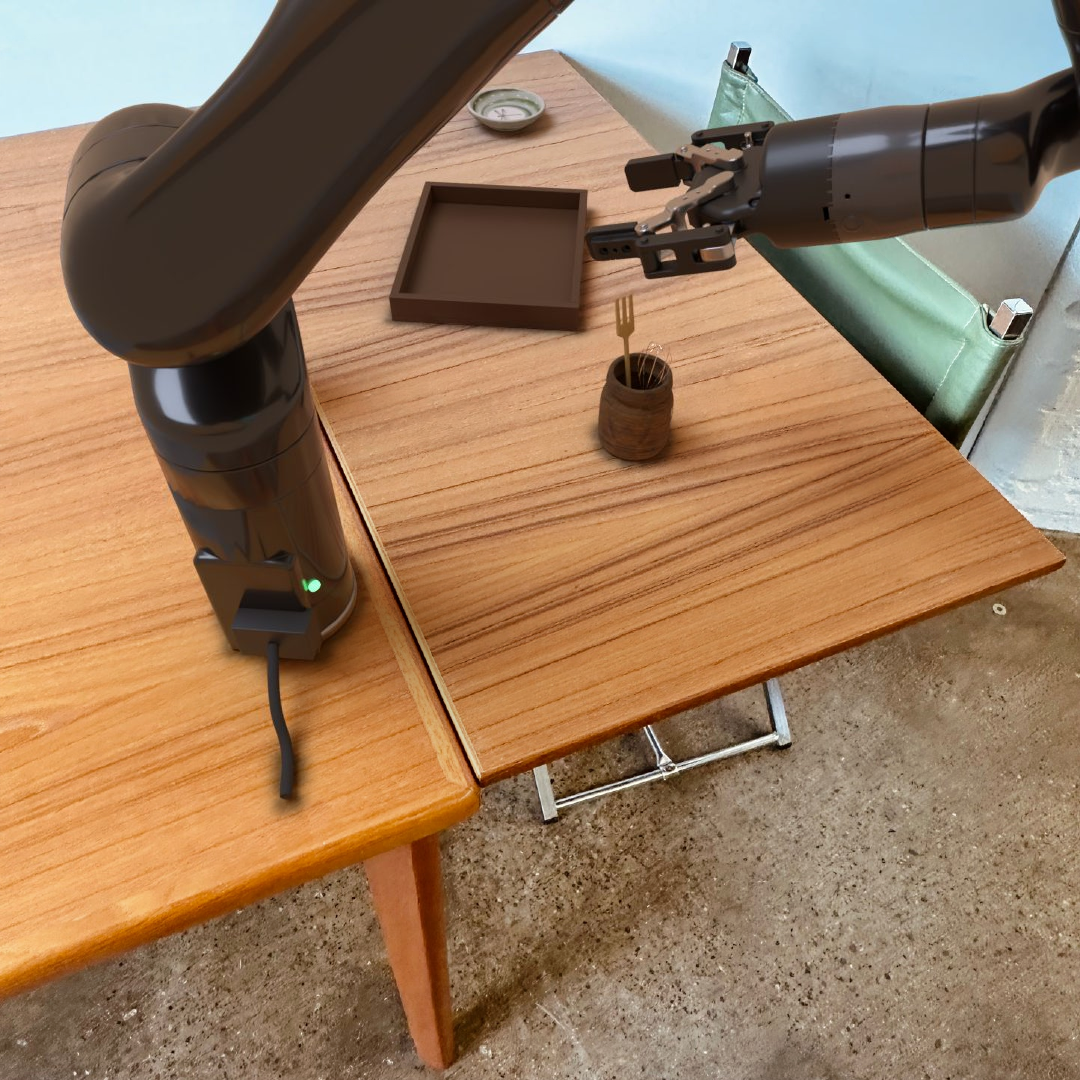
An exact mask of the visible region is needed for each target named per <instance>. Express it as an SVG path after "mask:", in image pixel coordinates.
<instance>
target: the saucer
mask: <svg viewBox="0 0 1080 1080" xmlns="http://www.w3.org/2000/svg"><path fill="white" fill-rule="evenodd" d="M546 105H547V104H546V101H545V100H544V98H543V97H541V95H539V94H537V93H536V92H533V91H531V90H528V89H525V88H520V87H514V86H513V87H512V86H499V87H491V88H486V89H482V90H480V91H479V92H478V93H477V94H476V95H475V96H474V97H473V98H472V99H471V100H470V101H469V102H468V103H467V104H466V109H467V112H468V113H469V114H470V115H471V116H472V117H474V118H475V120H477V121H478V122H480V123H482V124H483V125H485V126H487V127H489V128H491V129H492V130H495V131H499V132H514V131H519V130H521V129H523V128H524V127H526V126H530V125H531V124H533V123H534V122H536V121H537V120H538V119H539V118H540V117H541V116H542V115H543V114H544V113H545V111H546Z"/></svg>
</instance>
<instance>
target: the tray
mask: <svg viewBox="0 0 1080 1080" xmlns="http://www.w3.org/2000/svg"><path fill="white" fill-rule="evenodd" d="M588 194H589V190H588V189H585V188H584V189H582V188H565V187H563V188H562V187H544V186H526V185H525V186H524V185H508V184H507V185H505V184H485V183H467V182H466V183H465V182H448V181H431V180H429V181H424V185H423V188H422V191H421V193H420V196H419V200H418V203H417V206H416V210H415V213H414V216H413V219H412V223H411V226H410V229H409V232H408V236H407V237H406V238H407V239H406V242H405V244H404V248H403V251H402V254H401V258H400V261H399V264H398V268H397V271H396V274H395V276H394V277H395V278H394V280H393V283H392V287H391V290H390V293H389V296H388V301H389V307H390V308H389V309H390V314H391V316H390V317H391V321H398V322H414V323H415V322H416V323H429V324H430V323H433V324H448V325H449V324H450V325H451V324H452V325H467V326H468V325H469V326H484V327H485V326H486V327H504V328H521V329H539V330H553V331H554V330H557V331H573V332H578V329H579V328H578V327H579V315H580V303H581V290H582V277H583V265H584V253H585V252H584V249H585V235H586V226H587V225H586V224H587V215H588V214H587V212H588V198H589V197H588V196H589V195H588Z"/></svg>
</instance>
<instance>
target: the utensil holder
mask: <svg viewBox="0 0 1080 1080" xmlns="http://www.w3.org/2000/svg"><path fill="white" fill-rule="evenodd" d="M620 308H621V309H620ZM627 310H628V311H627ZM620 312H621V313H620ZM614 313H615V332H616V336H617V337H619V338H622V339H623V353H624V354H622V355H620V356H618V357H616V358H615V359H613V361H612V362H611V363H610V365H609V367H608V369H607V372H606V377H605V383H604V385H603V387H602V389H601V392H600V397H599V407H598V418H597V419H598V420H597V434H598V440H599V442H600V444H601V446H602V447H603V448H604V450H606V451H607V452H608V453H609V454H611V455H613V456H614V457H616V458H617V457H618V458H619V459H624V460H628V461H643V460H647V459H651V458H653V457H655V456H656V455H658V454H659V453H661V451H662V450H663V449H664V448H665V446H666V444H667V443H668V439H669V436H670V431H671V424H672V419H673V414H674V405H675V404H674V402H675V398H674V392H673V386H674V377H673V371H672V368H671V364H672V360H673V359H672V354H671V352H670V351H671V350H670V346H669V345H667V344H665V346H667V347H668V348H666V347H664V344H662V341H660V343H658V342H657V341H653V340H652V341H651V342H650V343H649V344H648V345H646V346H645V347H644V348H643V349H642V351H641V352H631V353H630V343H629V342H630V341H629V338H630V337H631V335H632V334H633V333H634V332H635V329H636V327H635V312H634V298H633V293H629V294H628V309H627V297H626V295H622V296H621V307H620V298H618V297H615V298H614ZM621 315H622V321H621ZM628 320H629V321H628ZM621 322H622V323H621ZM652 343H656V344H655V346H656V347H654V348H653V349H651V350H650V351H649V352H648V349H649V347H652V346H653V344H652ZM657 348H658V349H657ZM645 349H646V351H645V353H644V350H645ZM656 349H657V351H656V354H655V355H653V354H651V352H652V351H654V350H656ZM660 349H661V351H662V353H663V354H662V355H663V357H664V359H665V360H663V359H661V358H660V357H658V355H659V350H660ZM663 349H665V350H666V351H668V352H667V356H666V354H665V352H664V350H663ZM669 355H670V362H669V364H668V363H667V361H668V358H669Z"/></svg>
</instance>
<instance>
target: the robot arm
mask: <svg viewBox="0 0 1080 1080" xmlns="http://www.w3.org/2000/svg"><path fill="white" fill-rule="evenodd" d="M575 1H576V0H277V2H276V4H275V5H274V7H273V10H272V11H271V14H270V15H269V17H268V19H267V20H266V23H265V24H264V25H263V27H262V29H261V30H260V32H259V34H258V36H257V37H256V38H255V40H254V43H253V44H252V45H251V47H250V48H249V49H248V51H247V52H246V54H245V55H244V56H243V58H242V59H241V60H240V61H239V63H238V64H237V65H236V67H235V68H234V69H233V71H232V72H231V73H230V74H229V75H228V76H227V78H226V79H225V80H224V81H223V82H222V83H221V85H220V86H219V87H218V88H217V89H216V91H215V92H214V93H212V94H211V96H210V97H208V99H206V100H205V101H204V102H203V104H202V105H201V106H199V108H197V109H196V110H193V109H191V108H189V107H186V106H185V107H184V106H182V105H177V104H171V103H164V102H163V103H161V102H147V103H139V104H133V105H129V106H126V107H123V108H121V109H118V110H115V111H113V112H111V113H110V114H108V115H106V116H104V117H103V118H102V119H100V120H99V121H97V122H96V123H95V124H94V125H93V126H92V127H90V129H89V130H88V131H87V132H86V133H85V135H84V136H83V137H82V139H81V140H80V142H79V144H78V146H77V148H76V150H75V152H74V154H73V157H72V158H71V162H70V166H69V170H68V175H67V183H66V190H65V196H64V205H63V212H62V221H61V227H60V244H59V245H60V247H59V257H60V258H59V259H60V265H61V271H62V279H63V283H64V287H65V290H66V293H67V297H68V299H69V302H70V305H71V307H72V310H73V312H74V313H75V316H76V317H77V319H78V321H79V322H80V325H82V327H83V328H84V330H86V332H87V333H88V334H89V335H90V336H91V337H92V338H93V340H94V341H95V342H96V343H97V344H98V345H99V346H100V347H102V348H103V349H104V350H106V351H107V352H109V353H110V354H112V355H113V356H115V357H117V358H119V359H121V360H123V361H125V362H126V363H127V367H128V372H129V378H130V384H131V389H132V395H133V401H134V404H135V408H136V411H137V414H138V417H139V419H140V422H141V424H142V427H143V429H144V431H145V434H146V436H147V438H148V441H149V443H150V446H151V447H152V450H153V452H154V455H155V457H156V459H157V461H158V464H159V467H160V470H161V472H162V473H163V477H164V478H165V480H166V484H167V486H168V489H169V491H170V494H171V495H172V499H173V501H174V503H175V506H176V507H177V510H178V512H179V514H180V517H181V519H182V521H183V524H184V526H185V529H186V531H187V533H188V536H189V538H190V540H191V544H192V545H193V548H194V549H195V554H194V557H193V558H192V564H193V566H194V569H195V571H196V573H197V576H198V577H199V580H200V583H201V585H202V587H203V590H204V592H205V593H206V597H207V598H208V601H209V603H210V605H211V608H212V610H213V613H214V615H215V617H216V619H217V622H218V624H219V626H220V628H221V630H222V633H223V636H224V638H225V640H226V642H227V645H228V647H229V648H230V649H232V650H239V652H240V654H241V655H242V656H252V657H253V656H254V657H266V658H267V659H266V660H267V666H266V667H267V668H266V669H267V673H266V674H267V678H266V679H267V697H268V706H269V712H270V717H271V720H272V724H273V727H274V730H275V733H276V736H277V740H278V742H279V743H278V745H279V749H280V756H281V769H280V771H281V774H280V784H279V798H280V799H282V800H289V799H291V798H292V797H293V788H294V787H293V786H294V773H295V771H294V770H295V769H294V768H295V767H294V766H295V765H294V764H295V762H294V749H293V744H292V743H293V742H292V739H291V738H292V737H291V735H290V732H289V728H288V726H287V725H288V724H287V722H286V718H285V715H284V711H283V707H282V698H281V687H280V658H281V659H282V658H283V659H294V660H295V659H296V660H308V661H314V660H315V657H316V655H318V654H319V653H320V652H321V647H322V644H323V643H324V641H326V640H328V639H329V638H330V637H332V636H333V635H334V634H335V633H336V632H338V631H339V630H340V629H341V628H342V627H343V626H344V625H345V624H346V622H347V621H348V620H349V618H350V617H351V615H352V613H353V611H354V608H355V606H356V604H357V598H358V584H357V579H356V574H355V571H354V568H353V566H352V563H351V559H350V558H351V557H350V555H349V550H348V545H347V543H346V538H345V534H344V528H343V525H342V519H341V515H340V511H339V507H338V502H337V498H336V493H335V489H334V484H333V479H332V475H331V471H330V467H329V463H328V458H327V453H326V449H325V445H324V440H323V436H322V435H323V434H322V431H321V426H320V421H319V417H318V412H317V409H316V404H315V399H314V395H313V391H312V386H311V381H310V375H309V371H308V370H309V369H308V365H307V360H306V355H305V350H304V344H303V339H302V334H301V329H300V326H299V325H300V324H299V320H298V315H297V312H296V311H297V310H296V308H295V304H294V298H293V295H294V294H295V293H296V291H297V290H298V289H299V288H300V287H301V285H302V284H303V282H304V281H305V280H306V279H307V277H308V276H309V275H310V273H311V272H312V271H313V270H314V268H316V266H317V265H318V264H319V263H320V261H321V260H322V259H323V258H324V256H325V255H326V254H327V253H328V251H330V249H331V248H332V247H333V245H334V244H335V243H336V242H337V240H339V238H340V237H341V236H342V234H343V233H344V232H345V231H346V229H347V228H348V226H350V225H351V223H352V222H353V221H354V220H355V218H356V217H357V216H358V215H359V214H360V212H361V211H362V210H363V209H364V208H365V207H366V205H367V204H368V203H369V202H370V200H371V199H373V198H374V196H375V195H376V194H377V193H378V192H379V191H380V190H381V189H382V188H383V186H384V185H386V183H387V182H388V181H389V180H390V179H391V178H392V177H393V176H395V174H396V173H397V172H398V171H399V170H400V169H401V168H403V166H404V165H405V164H406V163H407V162H408V161H409V160H411V159H412V157H414V156H415V155H416V154H417V153H418V152H419V151H420V150H421V149H423V147H424V146H425V145H427V144H428V142H430V141H431V140H432V139H433V138H434V137H435V136H437V134H438V133H439V132H440V131H441V130H442V129H443V128H444V127H446V125H447V124H448V123H449V122H450V121H452V120H453V118H454V117H456V116H457V115H458V114H459V113H460V112H461V111H462V110H463V109H464V108H465V107H466V106H467V103H468V102H469V101H470V100H471V99H472V98H473V97H474V96H475V95H476V94H477V93H478V92H480V91H482V90H483V88H484V87H485V86H486V85H487V84H488V83H489V82H490V81H492V79H494V77H496V76H497V75H498V73H500V71H502V70H503V69H504V68H505V67H506V66H507V64H509V63H510V62H511V61H512V60H513V59H514V58H515V57H516V56H517V55H518V54H520V52H522V50H523V49H525V47H527V46H528V45H529V44H530V43H531V42H532V41H534V40H535V39H536V37H538V36H539V35H541V33H542V32H544V31H545V30H546V29H547V28H548V27H549V26H550V25H551V24H552V23H553V22H554V21H556V20H557V19H558V18H559V15H562V14H563V13H564V12H565V11H566V10H567V9H568V8H569V7H570V6H571V5H572V4H573V3H574V2H575ZM1050 2H1051V7H1052V9H1053V13H1054V16H1055V22H1056V23H1057V26H1058V29H1059V33H1060V36H1061V38H1062V41H1063V42H1064V45H1065V47H1066V50H1067V53H1068V57H1069V60H1070V63H1071V66H1070V67H1067V68H1064V69H1061V70H1059V71H1056V72H1054V73H1051V74H1049V75H1046V76H1043V77H1041V78H1039V79H1037V80H1035V81H1032V82H1031V83H1029V84H1026V85H1023V86H1021V87H1019V88H1016V89H1013V90H1009V91H1004V92H996V93H995V92H994V93H989V94H983V95H975V96H969V97H964V98H958V99H956V98H955V99H951V100H944V101H938V102H932V103H922V104H894V105H884V106H877V107H871V108H866V109H865V108H864V109H860V110H852V111H847V112H840V113H839V112H838V113H832V114H828V115H827V114H826V115H822V116H816V117H809V118H802V119H798V120H791V121H784V122H779V123H776V124H775V121H774V120H764V121H757V122H750V123H742V124H735V125H727V126H720V127H712V128H705V129H699V130H696V131H695V132H693V133H691V135H690V139H691V143H689V144H687V143H685V144H682V145H680V146H678V147H677V148H675V151H674V152H669V153H661V154H656V155H655V154H654V155H649V156H642V157H636V158H632V159H629V160H628V161H627V163H626V164H625V166H624V168H623V171H624V175H625V178H626V181H627V185H628V189H629V190H630V191H631V192H633V193H642V192H651V191H657V190H664V189H670V188H679V187H680V185H681V183H682V184H683V185H684V186H686V187H689V188H688V189H687V190H686V191H685V193H683V194H681V195H679V196H677V197H675V198H673V199H670V200H669V201H667V203H666V205H665V207H664V210H663V211H661V212H659V213H657V214H655V215H652V216H651V217H649V218H647V219H645V220H642V221H639V222H638V220H636V221H627V222H619V223H618V222H617V223H611V224H601V225H593V226H590V227H589V228H588V230H587V231H586V232H585V239H584V242H585V244H586V247H587V250H588V252H589V255H590V257H591V258H592V260H594V261H595V262H610V261H616V260H617V261H619V260H628V259H639V260H640V264H641V266H642V272H643V274H644V275H643V276H644V277H645V279H647V280H657V279H666V278H673V277H675V278H676V277H682V276H691V275H698V274H707V273H714V272H724V271H728V270H732V269H733V268H734V267H735V266H737V264H738V262H737V257H736V249H735V247H736V243H737V241H739V240H741V239H744V238H746V237H750V236H753V235H759V234H760V235H763V237H765V238H767V239H768V240H769V242H770V243H771V245H773V246H774V247H775V248H777V249H779V250H788V249H800V248H808V247H809V248H810V247H818V246H828V245H840V244H851V243H861V242H872V241H873V242H874V241H882V240H890V239H893V238H894V239H895V238H899V237H904V236H907V235H912V234H916V233H917V234H918V233H922V232H927V231H928V230H929V231H931V232H933V231H941V230H951V229H960V228H971V227H977V226H978V227H981V226H989V225H997V224H1004V223H1009V222H1013V221H1017V220H1019V219H1022V218H1023V217H1025V216H1027V215H1028V214H1029V213H1030V212H1031V211H1032V210H1033V209H1034V207H1035V206H1036V204H1037V202H1038V201H1039V200H1040V197H1041V195H1042V193H1043V191H1044V189H1045V188H1046V186H1047V185H1048V184H1049V183H1050V182H1051V181H1053V180H1055V179H1057V178H1059V177H1062V176H1065V175H1067V174H1070V173H1073V172H1076V171H1080V0H1050ZM715 143H722V144H723V145H724V148H723V147H720V146H717V145H713V144H715ZM686 215H687V220H688V223H689V226H691V227H693V228H689V229H688V226H687V221H686ZM668 227H670V229H671V231H668V232H661V233H658V232H660V231H662V230H664V229H666V228H668ZM672 255H674V256H675V259H668V260H664V259H666V258H668V257H670V256H672Z"/></svg>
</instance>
